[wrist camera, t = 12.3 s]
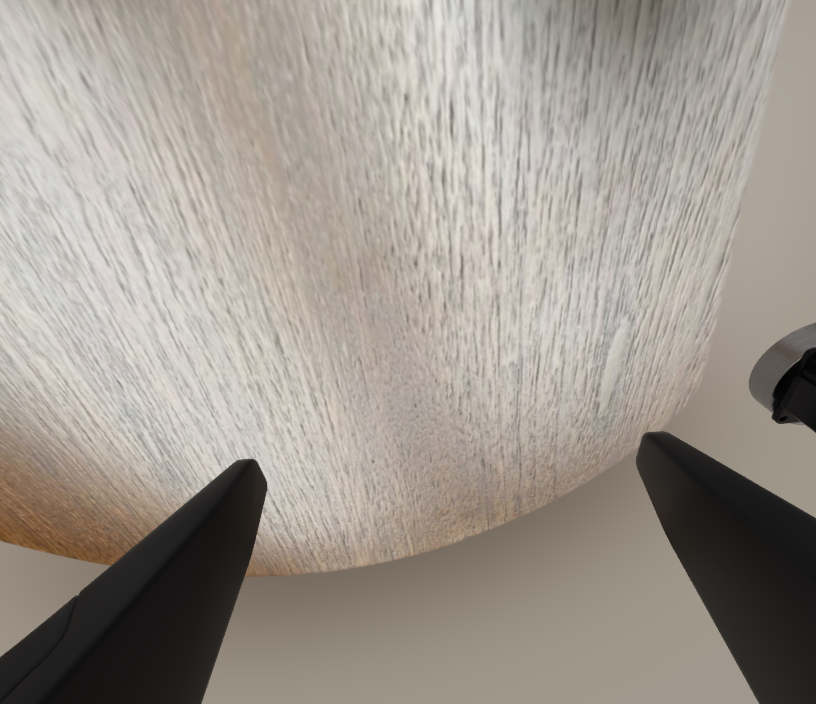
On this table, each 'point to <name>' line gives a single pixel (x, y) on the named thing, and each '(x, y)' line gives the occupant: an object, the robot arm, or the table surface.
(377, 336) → the table surface
